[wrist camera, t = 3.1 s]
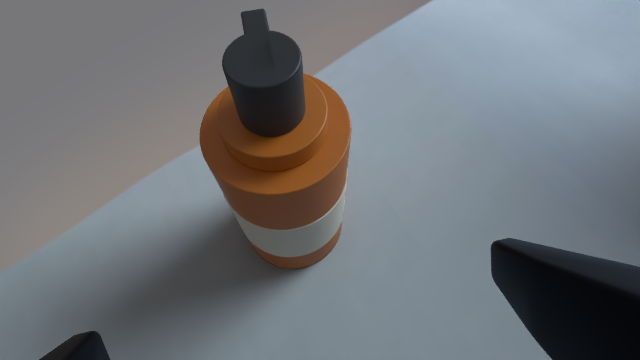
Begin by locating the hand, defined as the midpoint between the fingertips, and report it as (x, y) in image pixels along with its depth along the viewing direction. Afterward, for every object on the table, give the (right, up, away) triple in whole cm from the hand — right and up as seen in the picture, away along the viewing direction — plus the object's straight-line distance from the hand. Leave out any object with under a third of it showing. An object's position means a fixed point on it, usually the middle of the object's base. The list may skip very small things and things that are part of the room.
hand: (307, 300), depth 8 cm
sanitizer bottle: (-1, 0, +15) cm, 15 cm away
